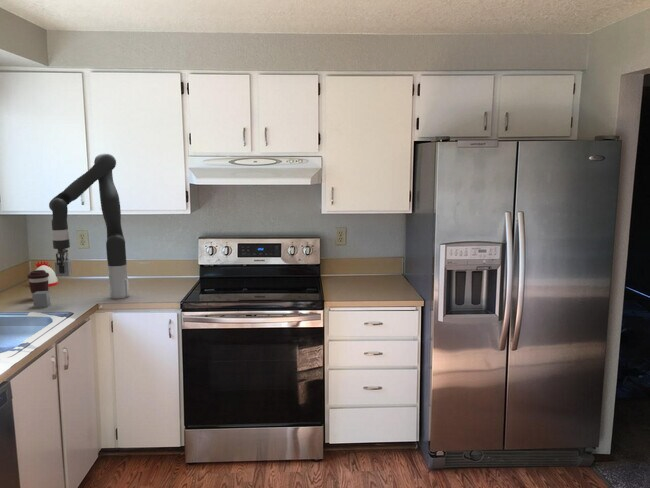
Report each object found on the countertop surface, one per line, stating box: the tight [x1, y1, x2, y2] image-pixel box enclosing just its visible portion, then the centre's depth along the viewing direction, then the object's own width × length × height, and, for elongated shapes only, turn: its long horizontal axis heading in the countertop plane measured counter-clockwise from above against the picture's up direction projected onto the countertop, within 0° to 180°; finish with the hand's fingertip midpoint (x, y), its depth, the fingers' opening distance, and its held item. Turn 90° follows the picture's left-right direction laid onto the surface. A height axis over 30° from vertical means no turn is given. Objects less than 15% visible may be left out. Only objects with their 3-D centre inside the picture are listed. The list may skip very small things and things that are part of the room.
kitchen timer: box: [34, 259, 59, 288], centre depth 311 cm, size 14×14×15 cm
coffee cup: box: [26, 269, 49, 300], centre depth 277 cm, size 10×10×15 cm
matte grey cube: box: [54, 259, 73, 278], centre depth 264 cm, size 6×6×7 cm
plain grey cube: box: [32, 290, 51, 309], centre depth 264 cm, size 6×6×7 cm
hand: (63, 271), depth 264 cm, fingers closed on matte grey cube, 6 cm apart
